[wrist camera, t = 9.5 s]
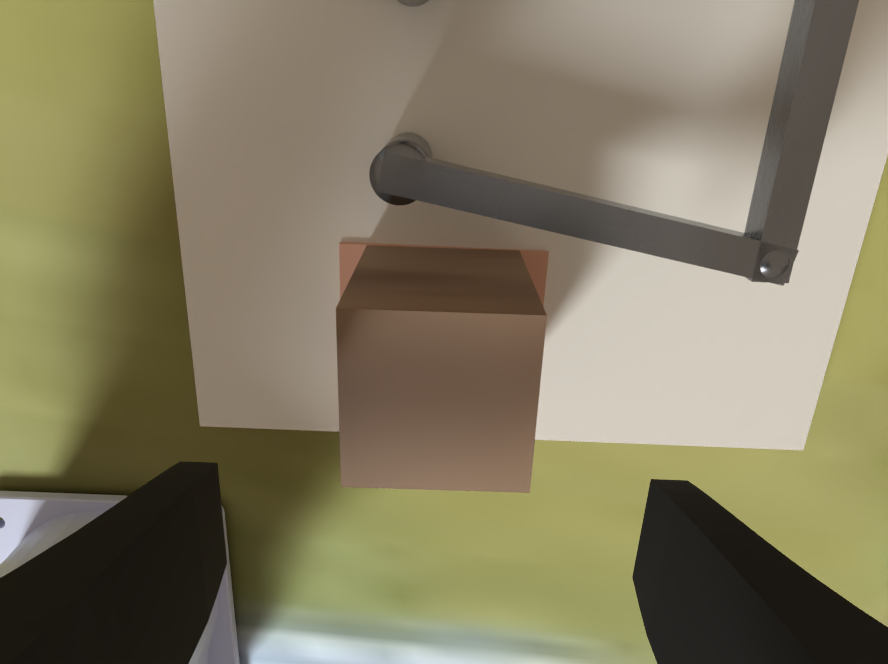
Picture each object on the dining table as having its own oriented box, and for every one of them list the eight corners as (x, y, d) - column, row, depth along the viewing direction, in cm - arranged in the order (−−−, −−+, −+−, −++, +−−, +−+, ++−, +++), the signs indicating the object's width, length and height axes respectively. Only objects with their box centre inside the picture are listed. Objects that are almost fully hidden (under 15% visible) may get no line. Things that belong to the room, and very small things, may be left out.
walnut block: (508, 387, 18) (529, 492, 14) (368, 382, 18) (341, 486, 14) (519, 250, 17) (546, 315, 12) (366, 245, 17) (335, 308, 12)
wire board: (778, 425, 21) (806, 453, 19) (216, 402, 20) (197, 429, 19) (995, -389, 13) (1068, -451, 12) (135, -436, 13) (93, -505, 12)
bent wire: (727, 249, 17) (794, 289, 14) (383, 234, 17) (368, 271, 14) (802, -108, 14) (909, -165, 11) (386, -129, 14) (368, -192, 11)
